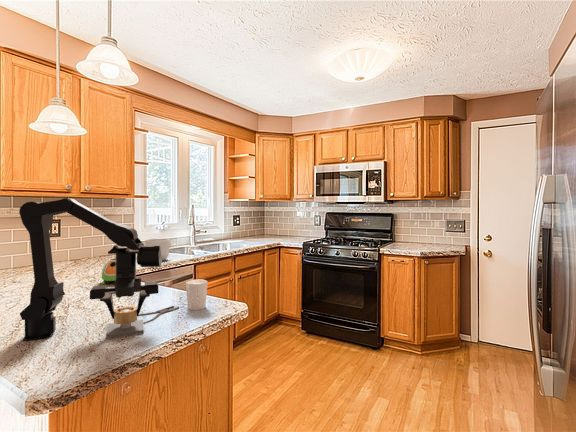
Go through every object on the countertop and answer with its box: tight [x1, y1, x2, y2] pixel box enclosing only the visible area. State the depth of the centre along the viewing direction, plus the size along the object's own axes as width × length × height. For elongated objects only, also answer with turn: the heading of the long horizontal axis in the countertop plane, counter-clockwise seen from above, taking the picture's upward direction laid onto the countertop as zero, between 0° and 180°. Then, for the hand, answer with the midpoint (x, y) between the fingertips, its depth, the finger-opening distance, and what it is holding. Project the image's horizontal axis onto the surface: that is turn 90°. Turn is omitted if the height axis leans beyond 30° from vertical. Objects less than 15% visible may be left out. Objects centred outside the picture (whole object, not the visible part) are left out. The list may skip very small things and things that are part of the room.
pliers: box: [138, 305, 180, 325], centre depth 115 cm, size 10×1×20 cm
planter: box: [144, 238, 171, 261], centre depth 233 cm, size 17×17×15 cm
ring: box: [113, 305, 138, 324], centre depth 100 cm, size 6×6×4 cm
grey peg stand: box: [105, 309, 145, 339], centre depth 100 cm, size 10×10×6 cm
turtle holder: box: [101, 257, 116, 285], centre depth 167 cm, size 12×18×12 cm
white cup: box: [185, 279, 208, 311], centre depth 124 cm, size 8×8×10 cm
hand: (125, 317), depth 100 cm, fingers closed on ring, 6 cm apart
